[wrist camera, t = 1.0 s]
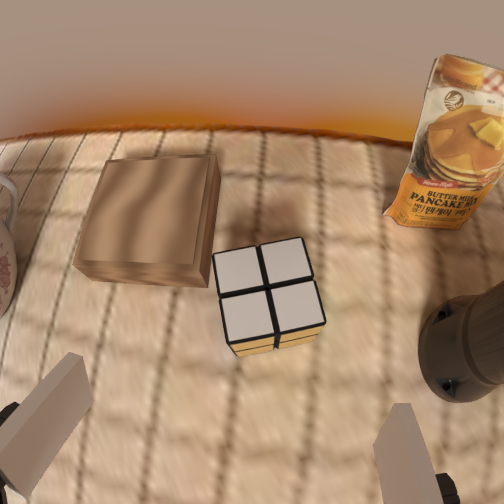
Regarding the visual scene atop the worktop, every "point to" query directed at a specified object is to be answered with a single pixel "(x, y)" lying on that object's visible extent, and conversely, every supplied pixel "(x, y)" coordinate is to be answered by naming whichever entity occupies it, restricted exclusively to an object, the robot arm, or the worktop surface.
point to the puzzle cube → (268, 296)
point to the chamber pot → (8, 246)
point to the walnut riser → (152, 222)
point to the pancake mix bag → (453, 146)
